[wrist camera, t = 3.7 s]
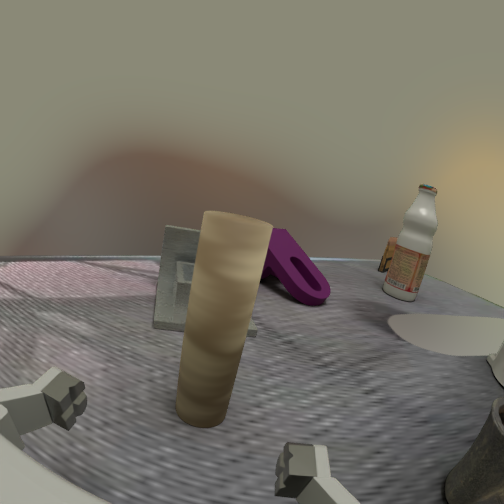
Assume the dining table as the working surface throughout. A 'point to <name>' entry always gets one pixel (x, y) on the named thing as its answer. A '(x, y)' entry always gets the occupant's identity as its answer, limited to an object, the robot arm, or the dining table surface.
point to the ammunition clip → (388, 255)
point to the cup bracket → (178, 279)
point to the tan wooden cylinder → (219, 313)
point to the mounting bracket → (294, 269)
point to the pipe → (481, 465)
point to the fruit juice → (413, 247)
